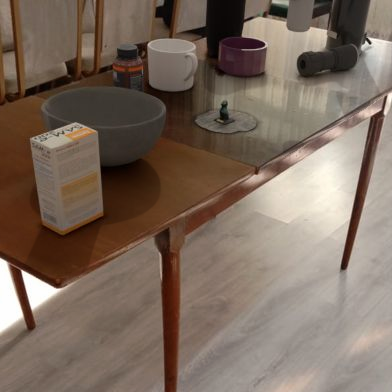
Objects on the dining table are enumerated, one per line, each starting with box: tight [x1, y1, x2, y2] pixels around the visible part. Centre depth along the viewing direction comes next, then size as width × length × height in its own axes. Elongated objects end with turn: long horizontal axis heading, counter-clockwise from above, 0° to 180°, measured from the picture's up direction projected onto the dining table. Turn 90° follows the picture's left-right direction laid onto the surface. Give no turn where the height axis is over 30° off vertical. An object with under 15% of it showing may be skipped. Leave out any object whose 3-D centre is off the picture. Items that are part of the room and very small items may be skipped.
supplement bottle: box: [112, 43, 144, 93], centre depth 125 cm, size 6×6×11 cm
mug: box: [146, 38, 199, 93], centre depth 136 cm, size 13×10×8 cm
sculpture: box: [194, 100, 258, 134], centre depth 124 cm, size 12×9×8 cm
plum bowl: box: [217, 36, 269, 78], centre depth 148 cm, size 11×11×6 cm
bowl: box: [40, 85, 167, 167], centre depth 105 cm, size 20×20×10 cm
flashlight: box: [296, 44, 360, 77], centre depth 150 cm, size 15×5×5 cm, turn 121°
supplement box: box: [29, 123, 104, 236], centre depth 88 cm, size 8×5×13 cm, turn 139°
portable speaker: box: [204, 0, 247, 58], centre depth 152 cm, size 9×9×20 cm
